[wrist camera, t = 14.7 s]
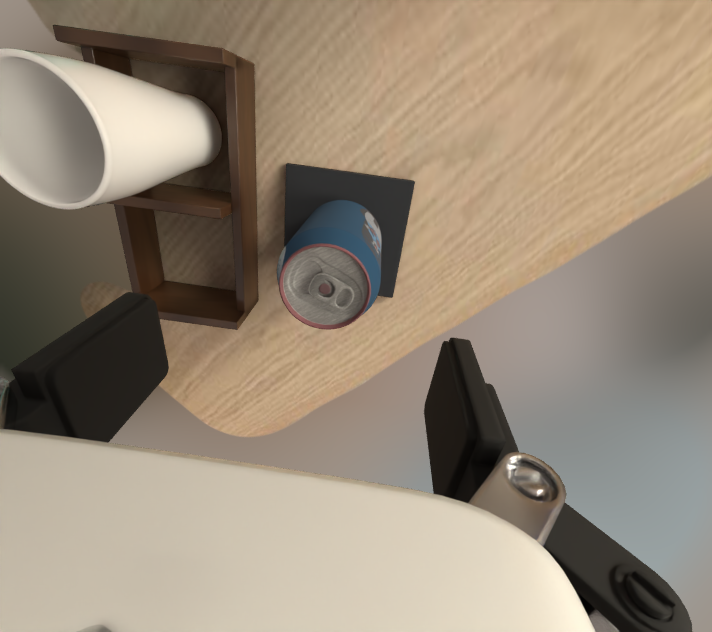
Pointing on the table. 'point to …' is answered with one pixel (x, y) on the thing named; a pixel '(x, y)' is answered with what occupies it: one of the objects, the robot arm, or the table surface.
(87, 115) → the white tall tumbler
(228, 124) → the drinks rack
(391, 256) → the coaster
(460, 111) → the table surface
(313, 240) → the soda can
